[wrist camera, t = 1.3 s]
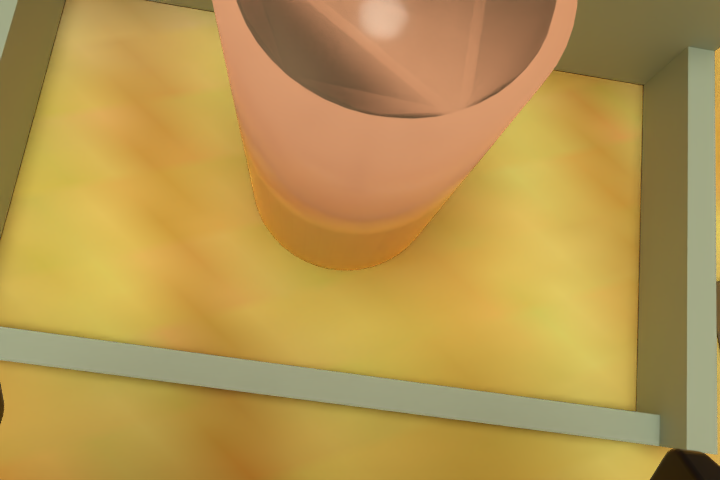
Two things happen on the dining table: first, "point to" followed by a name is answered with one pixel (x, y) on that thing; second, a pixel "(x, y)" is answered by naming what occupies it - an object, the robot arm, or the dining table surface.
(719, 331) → the metal tile
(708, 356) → the cold frame
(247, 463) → the dining table surface
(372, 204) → the pink cup
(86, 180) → the dining table surface
